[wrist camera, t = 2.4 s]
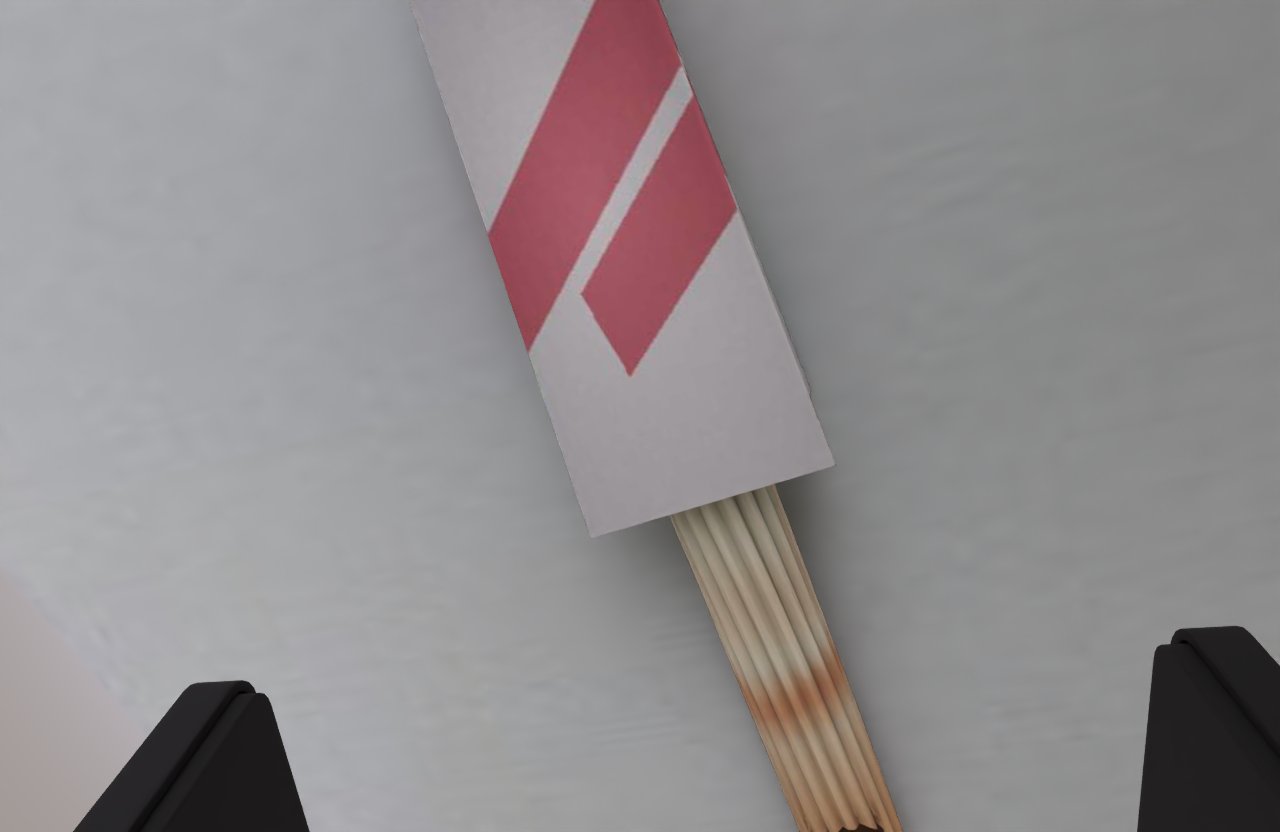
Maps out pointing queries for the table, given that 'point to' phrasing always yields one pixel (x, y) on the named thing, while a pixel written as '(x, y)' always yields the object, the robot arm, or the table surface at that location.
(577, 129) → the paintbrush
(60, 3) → the table surface
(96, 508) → the table surface
